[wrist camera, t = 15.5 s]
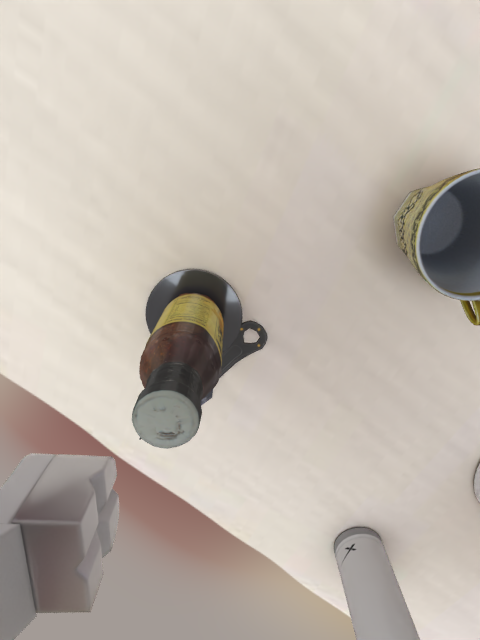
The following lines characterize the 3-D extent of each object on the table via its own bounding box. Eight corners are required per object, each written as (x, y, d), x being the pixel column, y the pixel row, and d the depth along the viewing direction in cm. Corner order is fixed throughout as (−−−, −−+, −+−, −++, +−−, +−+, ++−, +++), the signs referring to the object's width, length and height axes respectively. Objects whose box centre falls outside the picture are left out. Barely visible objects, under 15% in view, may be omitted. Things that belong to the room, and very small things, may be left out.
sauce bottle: (206, 355, 45) (184, 488, 26) (153, 328, 44) (91, 447, 25) (236, 305, 43) (236, 409, 24) (182, 275, 42) (138, 361, 23)
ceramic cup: (367, 183, 39) (408, 188, 30) (474, 153, 39) (551, 148, 29) (387, 309, 44) (428, 348, 34) (484, 285, 43) (554, 317, 34)
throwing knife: (275, 338, 45) (276, 340, 45) (153, 449, 50) (152, 452, 49) (247, 311, 44) (247, 313, 43) (125, 427, 49) (123, 430, 48)
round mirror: (243, 270, 42) (244, 271, 42) (240, 360, 46) (240, 362, 45) (144, 267, 42) (143, 268, 42) (148, 357, 45) (147, 359, 45)
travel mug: (331, 527, 54) (382, 720, 35) (383, 525, 54) (461, 718, 35) (330, 563, 56) (377, 764, 37) (379, 561, 56) (452, 761, 37)
